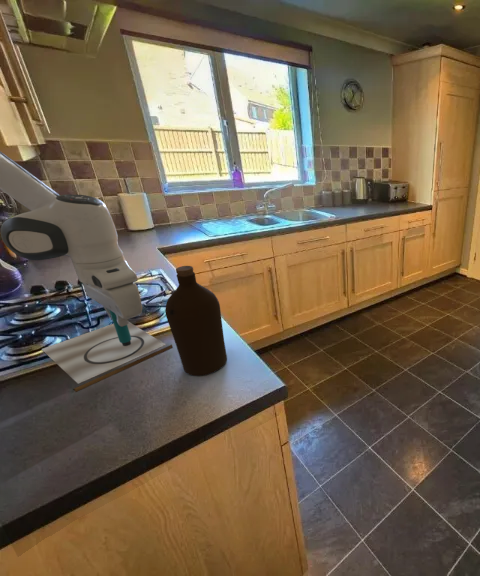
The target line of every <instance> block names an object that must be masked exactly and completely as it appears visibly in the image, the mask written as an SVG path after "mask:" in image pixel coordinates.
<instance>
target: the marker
mask: <svg viewBox="0 0 480 576" xmlns="http://www.w3.org/2000/svg"><path fill="white" fill-rule="evenodd" d="M109 311H110V314H111V317H112V320H113V321H112V320H111V321H112V324H114V326H115V329H116V332H117V335H118V338H119V341H120V343H122V345H123V346H128V345H130V344H131V341H130V340H131V335H130V332H129V329H128V326H127V325H125V326H120V325H118V324H117V321H116V319H117V316H116V314H115V313H114V312H112V311H111V310H109Z"/></svg>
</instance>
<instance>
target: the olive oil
mask: <svg viewBox="0 0 480 576" xmlns="http://www.w3.org/2000/svg"><path fill="white" fill-rule="evenodd" d="M175 272H176V279H177V282H178V286H177V287H176V288H175V290H174V291H173V292H172V293H171V295H169V298H168V299H167V300H166V304H165V317H166V320H167V323H168V326H169V328H170V331H171V334H172V337H173V341H174V343H175V347H176V349H177V352H178V356H179V358H180V362H181V365H182V369H183V371H184V372H185V374H187V375H189V376H193V377H201V376H207V375H210V374H213V373H215V372H217V371H219V370H221V369H222V368H223V367H224V366H225V365H226V363H227V361H228V357H227V350H226V349H227V348H226V344H225V337H224V328H223V320H222V313H221V312H222V311H221V304H220V301H219V299H218V297H217V296H216V294H215V293H214V292H213V291H211V290H210V289H208V288H206V287H205V286H203V285H202V284H199V283H198V282H197V277H196V273H195V272H194V267H193V266H192V265H182V266H179V267H176V268H175Z"/></svg>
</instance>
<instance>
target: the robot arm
mask: <svg viewBox="0 0 480 576" xmlns="http://www.w3.org/2000/svg"><path fill="white" fill-rule="evenodd" d="M0 191H1V192H4V193H5V194H6V195H8V196H9V197H10V198H12V199H14V200H15V201H16V202H17V203H19V204H20V205H22V206H24V207H25V208H26V209H28V210H29V211H26V212H23V213H20V214H17V215H13V216H12V217H10V218H8V219H6V220H4V222H3V223H2V224H1V226H0V237H1V240H2V242H3V244H4V246H6V248H7V249H9V250H10V251H11V252H12V253H13V254H15V255H17V256H18V257H20V258H23V259H26V260H29V261H44V260H51V259H56V258H60V257H69V258H70V260H71V263H72V265H73V268H74V270H75V273H76V276H77V280H78V281H79V282H80V283H82V284H83V285H82V286H83V288H84V291H85V293H86V295H87V297H88V298H90V299H91V300H93V301H95V302H96V303H98V304H99V305H101V306H102V307H103V309H104V310H105V312H106V313H107V315H108V318H109V320H110V321H112V322H113V320H112V317H111V314H110V311H109V310H111V311H112V312H114V313H115V314H116V316H117V319H116V321H117V324H118V325H120V326H125V325H128V324H129V322H130V321H129V319H132V318H135V317H138V316H140V315H141V314H142V312H143V305H142V304H143V303H142V299H141V295H140V291H139V288H138V285H137V284H136V283H135V282H138V279H139V278H138V275H137V273H136V272H135V271H134V270H133V269H132V268H131V267H130V266H129V264H128V262H127V260H126V258H125V255H124V252H123V250H122V249H121V247H120V245H119V243H118V242H119V241H118V237H119V236H118V232H117V228H116V225H115V223H114V220H113V217H112V215H111V213H110V210H109V209H108V207H107V206H106V204H105V203H104V201H102V200H101V199H99V198H96V197H94V196H90V195H86V194H71V193H69V194H61V195H60V194H59V193H58V192H56V191H55V190H54V189H52V188H51V187H50V186H48V185H47V184H45V183H44V182H43V181H42V180H40V179H39V178H38V177H37V176H35V175H34V174H33V173H31V172H30V171H28V170H27V169H25V168H24V167H23V166H21V165H20V164H19V163H17V162H16V161H14V160H13V159H12V158H11V157H9V156H8V155H6V154H5V153H3V152H2V151H0Z"/></svg>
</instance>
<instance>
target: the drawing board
mask: <svg viewBox="0 0 480 576" xmlns="http://www.w3.org/2000/svg"><path fill="white" fill-rule="evenodd" d="M128 322H129V324H128V325H127V326H128V329H129V332H130V335H131V340H130V341H131V344H130V345H128V346H123V345H122V343H120V341H119V338H118V335H117V332H116V329H115V326H114V323H111V324H108V325H106V326H103V327H100V328H96V329H94V330H91V331H88V332H86V333H83V334H80V335H77V336H75V337H71V338H70V339H66V340H64V341H61V342H58V343H54V344H52V345H49V346H46V347H44V348H41V351H42V352H44V353H45V354H46V355H47V356H48V357H49V358H50V359H51V360H52V361H53V362H54V363H55V364H56V365H57V366H58V367H59V368H60V369H61V370H63V371H64V372H65V374H67V375H68V376H69V377H70V378H71V379H72V380H73V381H74V382H75V383H76V384H78V385H79V384H81V385H79V386H76V387H74V388H72V390H73V391H74V392H75V393H78V392H79V391H82V390H84V389H86V388H88V387H90V386H93V385H95V384H97V383H99V382H101V381H103V380H106V379H108V378H110V377H112V376H114V375H116V374H119V373H121V372H123V371H125V370H127V369H130V368H132V367H135V366H136V365H138V364H141V363H142V362H144V361H147V360H149V359H152V358H154V357H156V356H158V355H160V354H162V353H164V352H167V351H169V350H171V349H173V348H174V346H173V344H170V345H168V346H167V344H166V343H164V342H162V341H161V340H160V339H158V338H156V337H154V336H153V335H151V334H149V333H148V332H146V331H145V330H143V329H142V328H140V327H139V326H137V325H135V324H133V323H132V322H130V321H128ZM160 348H161V349H160ZM153 351H154V352H153ZM151 352H152V353H151ZM149 353H150V354H149ZM144 355H145V356H144ZM142 356H143V357H142ZM140 357H141V358H140ZM137 358H139V359H137ZM133 360H134V361H133ZM130 361H132V362H130ZM129 362H130V363H129ZM126 363H127V364H126ZM122 365H123V366H122ZM120 366H121V367H120ZM118 367H119V368H118ZM115 368H116V369H115ZM113 369H114V370H113ZM110 370H112V371H110ZM109 371H110V372H109ZM103 373H105V374H103ZM99 375H101V376H99ZM97 376H99V377H97ZM95 377H96V378H95ZM92 378H94V379H92ZM90 379H92V380H90ZM88 380H90V381H88ZM86 381H88V382H86ZM83 382H84V383H83ZM85 382H86V383H85ZM82 383H83V384H82Z"/></svg>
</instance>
